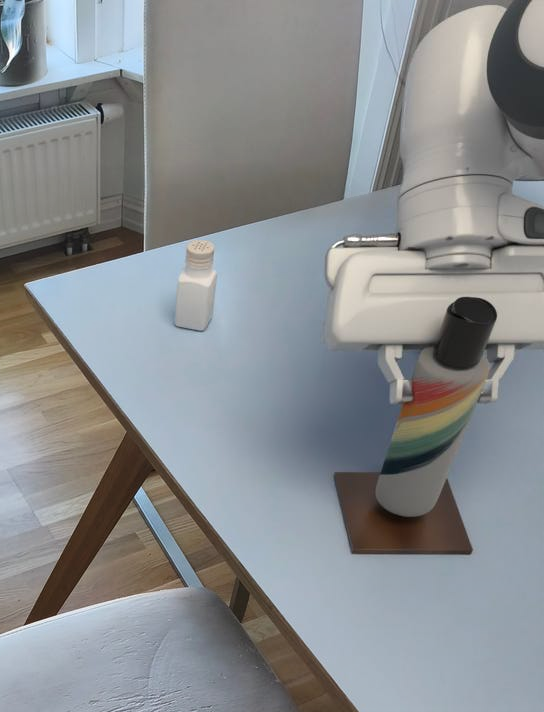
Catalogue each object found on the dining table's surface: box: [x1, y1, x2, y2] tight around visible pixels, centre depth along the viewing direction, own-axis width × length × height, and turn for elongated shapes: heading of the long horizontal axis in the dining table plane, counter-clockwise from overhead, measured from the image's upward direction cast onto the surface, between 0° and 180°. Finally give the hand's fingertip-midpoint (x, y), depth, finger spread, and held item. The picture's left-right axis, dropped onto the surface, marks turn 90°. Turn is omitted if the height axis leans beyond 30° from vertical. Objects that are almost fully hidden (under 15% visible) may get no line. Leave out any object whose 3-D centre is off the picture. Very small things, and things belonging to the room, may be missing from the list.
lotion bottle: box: [376, 297, 497, 517], centre depth 76 cm, size 6×6×20 cm
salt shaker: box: [174, 239, 218, 332], centre depth 104 cm, size 4×4×10 cm
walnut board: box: [333, 471, 474, 555], centre depth 85 cm, size 11×11×1 cm
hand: (443, 402), depth 75 cm, fingers closed on lotion bottle, 5 cm apart
